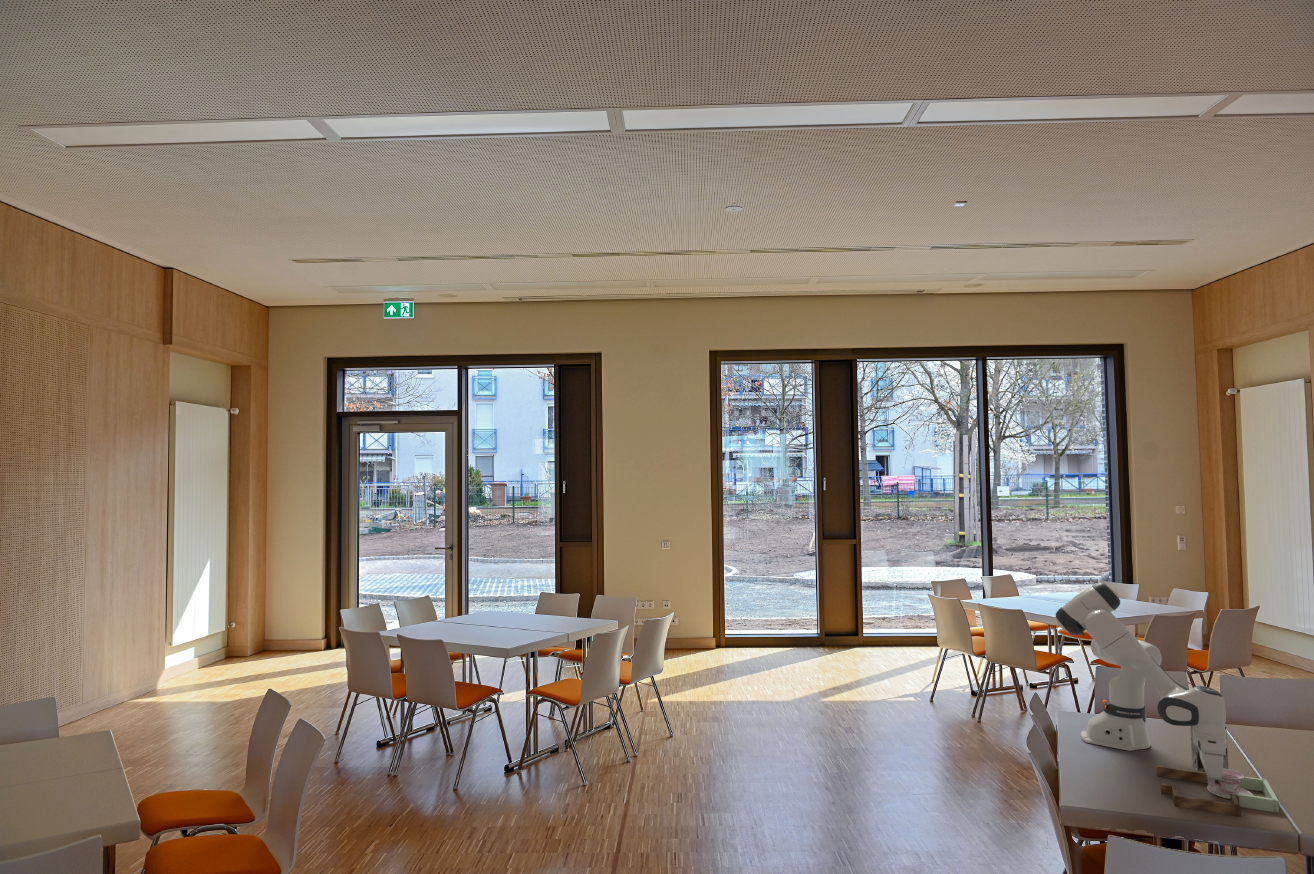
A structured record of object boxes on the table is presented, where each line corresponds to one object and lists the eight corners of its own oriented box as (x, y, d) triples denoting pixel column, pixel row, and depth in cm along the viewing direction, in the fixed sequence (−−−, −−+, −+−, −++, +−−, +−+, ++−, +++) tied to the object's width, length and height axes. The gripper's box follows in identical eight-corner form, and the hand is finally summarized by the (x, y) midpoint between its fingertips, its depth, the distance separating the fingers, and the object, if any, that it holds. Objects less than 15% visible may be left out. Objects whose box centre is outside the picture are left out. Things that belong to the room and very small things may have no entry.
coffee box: (1222, 768, 269) (1220, 720, 270) (1229, 775, 263) (1227, 726, 264) (1191, 765, 272) (1189, 718, 273) (1197, 772, 266) (1195, 724, 267)
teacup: (1198, 784, 256) (1198, 765, 257) (1237, 785, 255) (1237, 766, 256) (1221, 800, 244) (1220, 780, 245) (1263, 801, 243) (1262, 781, 244)
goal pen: (1239, 806, 240) (1238, 794, 241) (1229, 785, 256) (1229, 774, 256) (1278, 812, 236) (1278, 800, 236) (1266, 790, 251) (1266, 779, 251)
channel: (1163, 803, 243) (1163, 794, 243) (1156, 774, 265) (1156, 765, 265) (1244, 817, 233) (1243, 806, 234) (1229, 785, 256) (1229, 775, 256)
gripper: (1193, 728, 262) (1194, 770, 262) (1201, 748, 244) (1202, 793, 244) (1216, 731, 259) (1218, 773, 259) (1226, 751, 241) (1228, 797, 241)
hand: (1210, 783), depth 251 cm, fingers closed
